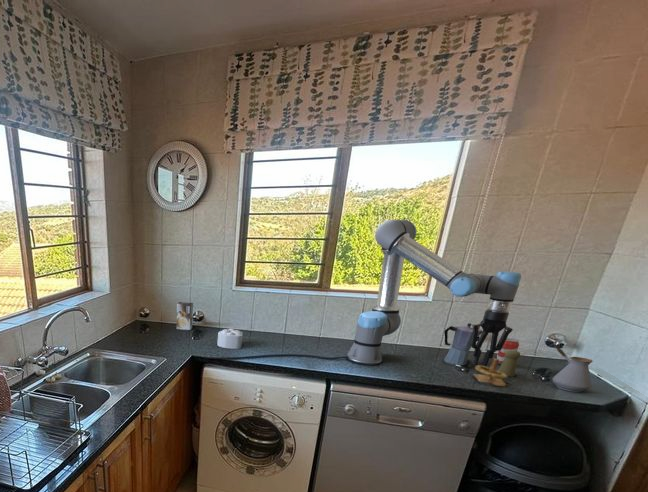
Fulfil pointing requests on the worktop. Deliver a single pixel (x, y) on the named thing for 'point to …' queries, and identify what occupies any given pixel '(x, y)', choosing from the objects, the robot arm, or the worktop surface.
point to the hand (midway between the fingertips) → (479, 364)
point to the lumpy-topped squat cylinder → (230, 339)
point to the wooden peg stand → (488, 378)
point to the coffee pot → (573, 374)
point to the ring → (485, 371)
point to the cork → (509, 362)
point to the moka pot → (459, 344)
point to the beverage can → (508, 345)
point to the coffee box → (184, 315)
